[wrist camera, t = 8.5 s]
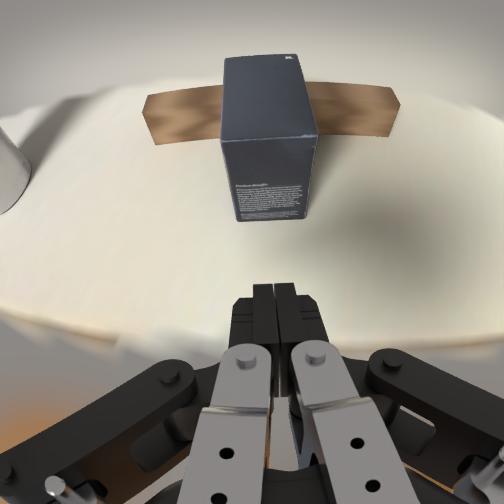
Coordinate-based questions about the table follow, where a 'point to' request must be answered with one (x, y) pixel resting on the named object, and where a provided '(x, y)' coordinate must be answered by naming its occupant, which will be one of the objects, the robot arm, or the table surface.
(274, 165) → the small box
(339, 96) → the walnut board
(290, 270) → the table surface
